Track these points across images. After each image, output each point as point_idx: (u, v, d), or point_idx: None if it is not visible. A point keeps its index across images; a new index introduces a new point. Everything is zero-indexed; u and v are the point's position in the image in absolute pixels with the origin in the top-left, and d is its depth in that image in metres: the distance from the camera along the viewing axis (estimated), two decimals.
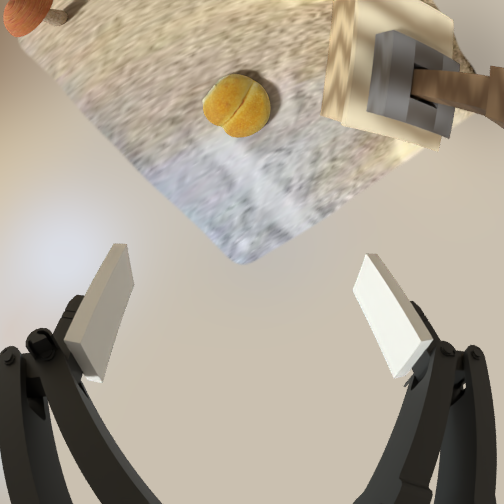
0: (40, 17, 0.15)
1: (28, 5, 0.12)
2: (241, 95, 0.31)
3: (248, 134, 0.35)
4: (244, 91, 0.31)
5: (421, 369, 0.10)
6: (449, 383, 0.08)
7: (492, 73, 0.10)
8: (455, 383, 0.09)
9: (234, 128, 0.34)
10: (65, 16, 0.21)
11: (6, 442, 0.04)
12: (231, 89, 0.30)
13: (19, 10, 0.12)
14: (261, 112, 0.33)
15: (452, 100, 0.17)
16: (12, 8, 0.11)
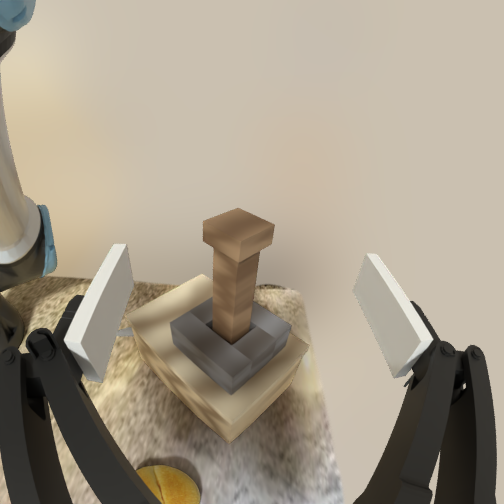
0: None
1: None
2: (152, 482, 0.22)
3: None
4: (151, 477, 0.23)
5: (421, 369, 0.10)
6: (449, 383, 0.08)
7: (207, 241, 0.24)
8: (455, 383, 0.09)
9: None
10: None
11: (6, 442, 0.04)
12: None
13: None
14: (181, 481, 0.23)
15: (234, 298, 0.26)
16: None
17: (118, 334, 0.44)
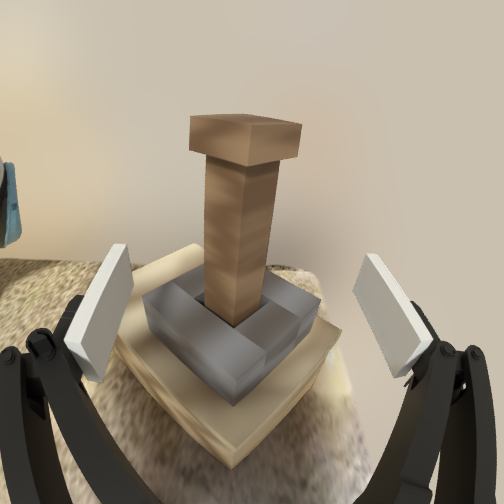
0: None
1: None
2: None
3: None
4: None
5: (421, 369, 0.10)
6: (449, 383, 0.08)
7: (196, 146, 0.14)
8: (455, 383, 0.09)
9: None
10: None
11: (6, 442, 0.04)
12: None
13: None
14: None
15: (238, 245, 0.16)
16: None
17: None
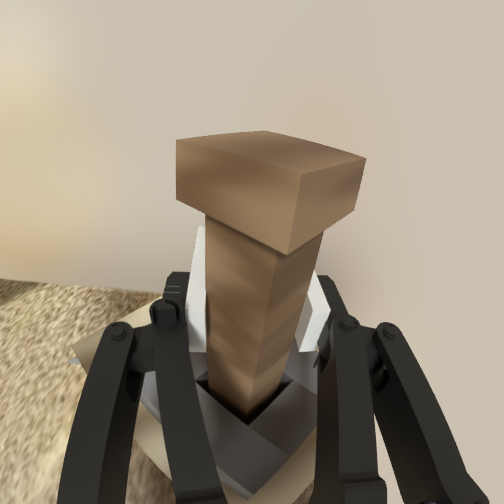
0: None
1: None
2: None
3: None
4: None
5: (324, 348, 0.11)
6: (360, 359, 0.09)
7: (187, 196, 0.08)
8: (367, 363, 0.10)
9: None
10: None
11: (84, 416, 0.06)
12: None
13: None
14: None
15: (259, 347, 0.10)
16: None
17: (79, 361, 0.28)
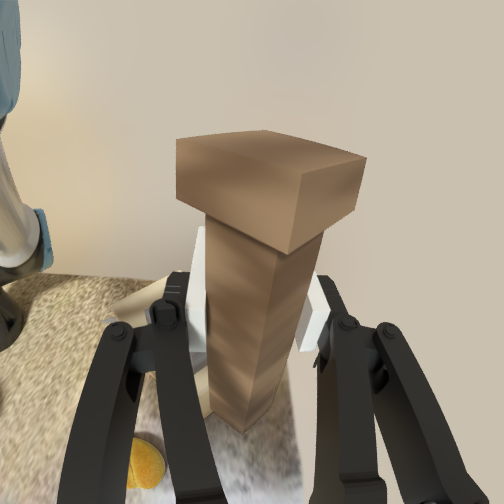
0: None
1: None
2: None
3: (158, 475, 0.25)
4: None
5: (324, 348, 0.11)
6: (360, 359, 0.09)
7: (187, 196, 0.08)
8: (367, 363, 0.10)
9: (142, 478, 0.24)
10: None
11: (84, 416, 0.06)
12: None
13: None
14: (147, 451, 0.27)
15: (259, 347, 0.10)
16: None
17: (107, 321, 0.49)
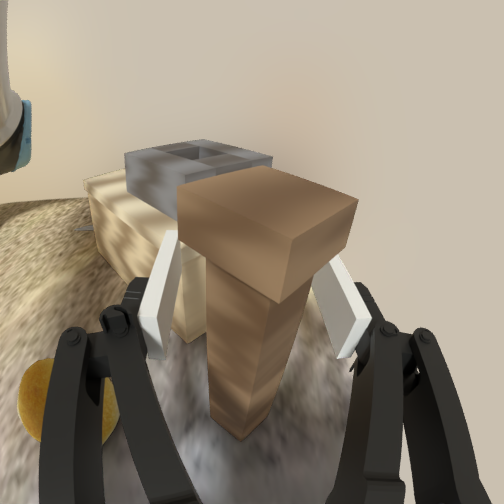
0: None
1: None
2: None
3: None
4: None
5: (363, 353, 0.11)
6: (397, 365, 0.09)
7: (188, 240, 0.09)
8: (403, 367, 0.10)
9: None
10: None
11: (51, 423, 0.05)
12: (33, 371, 0.14)
13: None
14: None
15: (255, 370, 0.11)
16: None
17: (83, 229, 0.38)
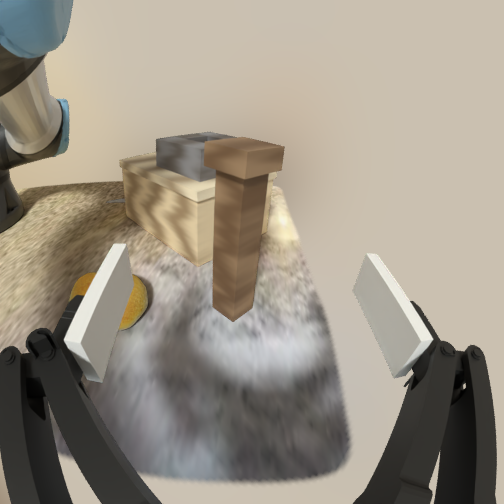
0: None
1: None
2: None
3: (135, 304, 0.25)
4: None
5: (421, 369, 0.10)
6: (449, 383, 0.08)
7: (209, 163, 0.21)
8: (455, 383, 0.09)
9: None
10: None
11: (6, 442, 0.04)
12: (86, 276, 0.26)
13: None
14: None
15: (239, 234, 0.22)
16: None
17: (112, 201, 0.50)
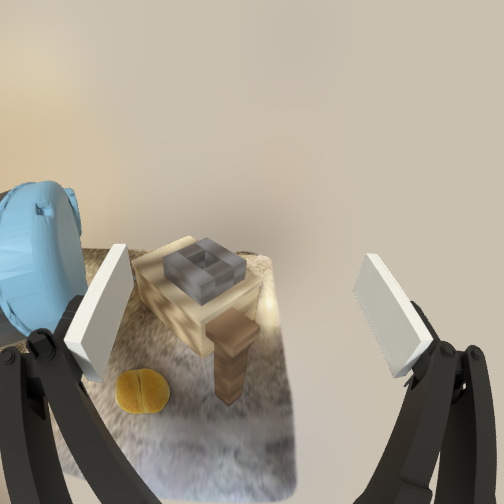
0: None
1: None
2: (134, 377, 0.37)
3: (163, 398, 0.36)
4: (134, 374, 0.38)
5: (421, 369, 0.10)
6: (449, 383, 0.08)
7: (209, 337, 0.31)
8: (455, 383, 0.09)
9: (150, 400, 0.34)
10: None
11: (6, 442, 0.04)
12: (125, 377, 0.36)
13: None
14: (155, 376, 0.38)
15: (230, 372, 0.33)
16: None
17: None
